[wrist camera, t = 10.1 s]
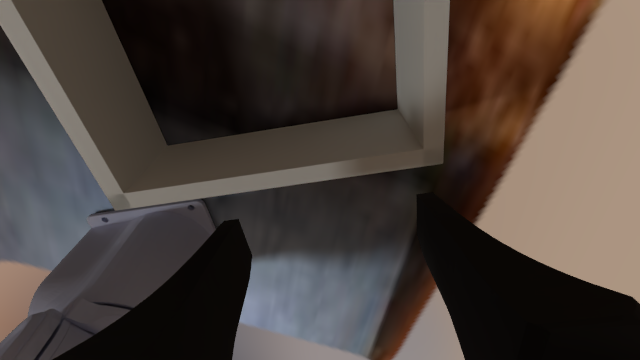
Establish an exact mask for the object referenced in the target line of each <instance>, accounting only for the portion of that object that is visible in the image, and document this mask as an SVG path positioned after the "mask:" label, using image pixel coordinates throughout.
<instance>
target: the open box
mask: <svg viewBox="0 0 640 360" xmlns="http://www.w3.org/2000/svg"><path fill="white" fill-rule="evenodd" d="M449 9H450V0H394V25H395V51H396V78H397V104H398V109H396V110H390V111H383V112H377V113H371V114H364V115H358V116H352V117H345V118H339V119H333V120H326V121H320V122H314V123H308V124H301V125H295V126H289V127H282V128H276V129H270V130H263V131H257V132H251V133H244V134H238V135H232V136H225V137H219V138H213V139H206V140H200V141H194V142H187V143H181V144H175V145H169V146H167V144H166V141H165V139H164V137H163V135H162V132H161V130H160V128H159V126H158V124H157V121H156V119H155V117H154V115H153V113H152V110H151V108H150V106H149V104H148V102H147V99H146V97H145V95H144V93H143V90H142V88H141V86H140V84H139V82H138V79H137V77H136V75H135V73H134V71H133V68H132V66H131V64H130V62H129V60H128V57H127V55H126V53H125V51H124V49H123V46H122V44H121V42H120V40H119V37H118V35H117V33H116V31H115V29H114V26H113V24H112V22H111V20H110V18H109V15H108V13H107V11H106V9H105V7H104V4H103V2H102V0H0V25H1V27H2V28H3V30H4V32H5V33H6V35H7V37H8V38H9V40H10V41H11V43H12V45H13V46H14V48H15V49H16V51H17V53H18V54H19V56H20V58H21V59H22V61H23V62H24V64H25V66H26V67H27V69H28V71H29V72H30V74H31V75H32V77H33V79H34V80H35V82H36V83H37V85H38V87H39V88H40V90H41V92H42V93H43V95H44V96H45V98H46V100H47V101H48V103H49V104H50V106H51V108H52V109H53V111H54V113H55V114H56V116H57V117H58V119H59V121H60V122H61V124H62V125H63V127H64V129H65V130H66V132H67V134H68V135H69V137H70V138H71V140H72V142H73V143H74V145H75V147H76V148H77V150H78V151H79V153H80V155H81V156H82V158H83V159H84V161H85V163H86V164H87V166H88V168H89V169H90V171H91V172H92V174H93V176H94V177H95V179H96V180H97V182H98V184H99V185H100V187H101V189H102V190H103V192H104V193H105V195H106V197H107V198H108V200H109V201H110V203H111V205H112V206H113V208H114V210H115V211H117V210H124V209H131V208H138V207H145V206H152V205H159V204H165V203H172V202H179V201H186V200H193V199H200V198H207V197H214V196H221V195H228V194H235V193H242V192H249V191H256V190H263V189H270V188H277V187H284V186H290V185H297V184H304V183H311V182H318V181H325V180H332V179H339V178H346V177H353V176H360V175H367V174H374V173H381V172H388V171H395V170H402V169H409V168H415V167H422V166H429V165H436V164H443V152H444V129H445V105H446V81H447V57H448V33H449Z"/></svg>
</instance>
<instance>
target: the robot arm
mask: <svg viewBox="0 0 640 360" xmlns="http://www.w3.org/2000/svg"><path fill="white" fill-rule="evenodd" d="M190 205H192V206H194V207H190ZM106 218H107V219H106ZM87 222H88V224H89V225H90V226H91V229H90V230H89V232H88V233H87V234H86V235H85V236H84V237H83V238H82V239H81V240H80V241H79V242H78V244H77V245H76V246H75V247H74V248H73V249H72V250H71V251H70V252H69V253H68V254H67V255H66V257H65V258H64V259H63V260H62V261H61V262H60V263H59V264H58V265H57V266H56V267H55V269H54V270H53V271H52V272H51V273H50V274H49V275H48V276H47V277H46V278H45V279H44V281H43V282H42V283H41V284H40V286H39V287H38V289H37V291H36V292H35V294H34V296H33V299H32V301H31V304H30V308H29V312H28V317H27V318H26V319H25V320H24V321H23V322H22V323H20V324H19V325H18V326H17V327H16V328H15V329H14V330H13V331H12V332H11V333H10V334H9V335H8V336H7V337H6V338H5V339H4V340H3V341H2V342H1V343H0V360H232V356H233V348H234V342H235V337H236V331H237V327H238V323H239V319H240V315H241V311H242V307H243V303H244V299H245V295H246V291H247V287H248V283H249V279H250V271H251V261H252V254H251V251H250V249H249V246H248V243H247V241H246V238H245V235H244V233H243V230H242V227H241V225H240V222H239V219H235V220H228V221H224V222H223V223H222V224H221V225H220V226H219V227H218V228H217V229H216V228H215V226H214V223H213V221H212V219H211V216H210V214H209V212H208V209H207V207H206V205H205V203H204V201H202V200H200V199H193V200H186V201H179V202H172V203H165V204H159V205H152V206H145V207H138V208H131V209H124V210H117V211H109V212H102V213H95V214H91V215H90V216H89V217H88V218H87ZM417 236H418V239H419V243H420V246H421V249H422V252H423V255H424V258H425V260H426V262H427V265H428V267H429V269H430V271H431V274H432V276H433V278H434V280H435V282H436V284H437V287H438V289H439V291H440V293H441V295H442V298H443V300H444V302H445V304H446V306H447V309H448V311H449V314H450V316H451V319H452V322H453V325H454V328H455V331H456V333H457V337H458V340H459V342H460V345H461V349H462V352H463V355H464V358H465V360H640V304H639V303H638V302H637V301H636V300H635V299H634V298H633V297H631V296H628V295H625V294H622V293H619V292H616V291H613V290H610V289H607V288H604V287H600V286H597V285H594V284H591V283H589V282H586V281H583V280H581V279H578V278H576V277H573V276H570V275H568V274H565V273H563V272H561V271H558V270H556V269H553V268H551V267H549V266H547V265H544V264H542V263H540V262H538V261H536V260H534V259H532V258H529V257H527V256H526V255H523V254H521V253H519V252H517V251H516V250H514V249H512V248H511V247H509V246H507V245H505V244H503V243H502V242H500V241H498V240H497V239H495V238H493V237H492V236H490V235H489V234H487V233H485V232H484V231H482V230H481V229H479V228H478V227H477V226H475V225H474V224H472V223H471V222H470V221H468V220H467V219H466V218H464V217H463V216H462V215H460V214H459V213H458V212H456V211H455V210H454V209H453V208H451V207H450V206H449V205H448V204H446V203H445V202H444V201H443V200H442V199H440V198H439V197H438V196H437V195H435V194H434V193H433V192H431V193H424V194H417Z"/></svg>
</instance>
